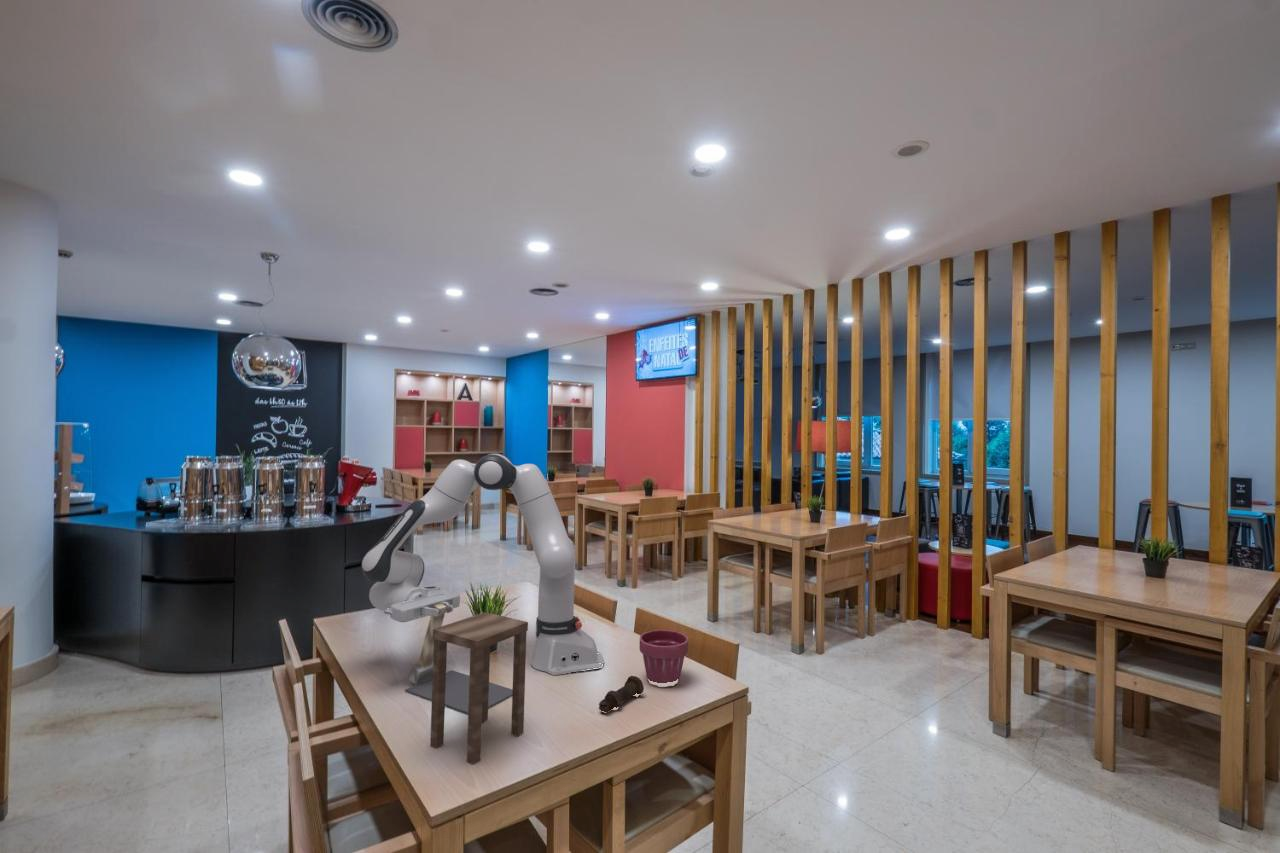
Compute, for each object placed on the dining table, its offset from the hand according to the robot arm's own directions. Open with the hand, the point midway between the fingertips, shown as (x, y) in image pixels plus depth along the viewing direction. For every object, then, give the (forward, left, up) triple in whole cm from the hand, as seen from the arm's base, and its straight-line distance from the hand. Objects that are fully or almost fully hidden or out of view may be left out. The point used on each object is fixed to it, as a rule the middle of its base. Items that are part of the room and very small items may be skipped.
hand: (445, 611), depth 157 cm
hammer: (+5, -4, -8) cm, 10 cm away
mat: (-6, +3, -21) cm, 22 cm away
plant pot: (-62, +2, -21) cm, 66 cm away
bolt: (-48, +15, -22) cm, 54 cm away
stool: (-13, +29, -21) cm, 38 cm away
